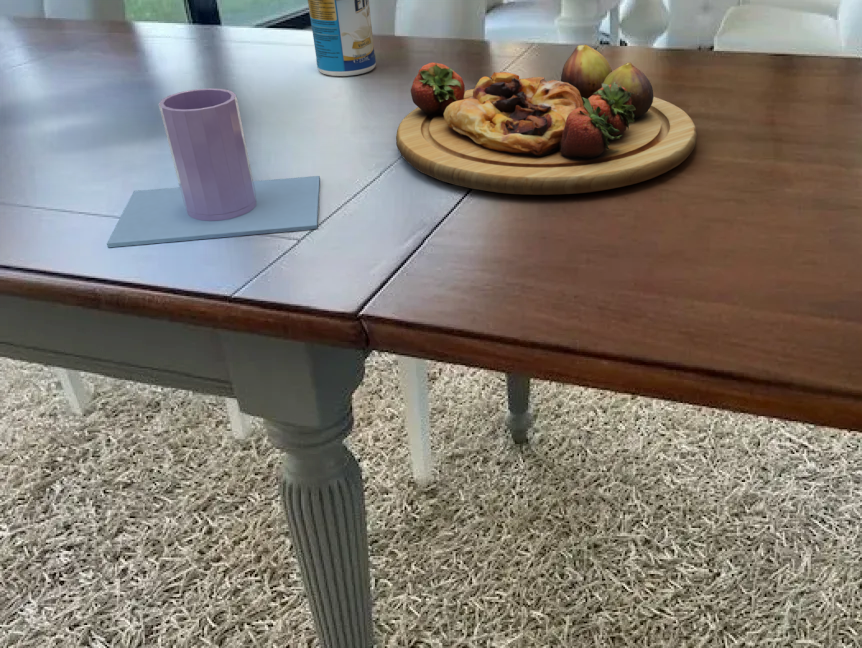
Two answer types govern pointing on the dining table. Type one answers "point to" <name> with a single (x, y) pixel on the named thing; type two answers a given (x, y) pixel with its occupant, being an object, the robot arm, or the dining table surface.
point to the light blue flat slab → (169, 222)
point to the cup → (209, 153)
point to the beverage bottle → (342, 36)
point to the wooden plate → (544, 129)
